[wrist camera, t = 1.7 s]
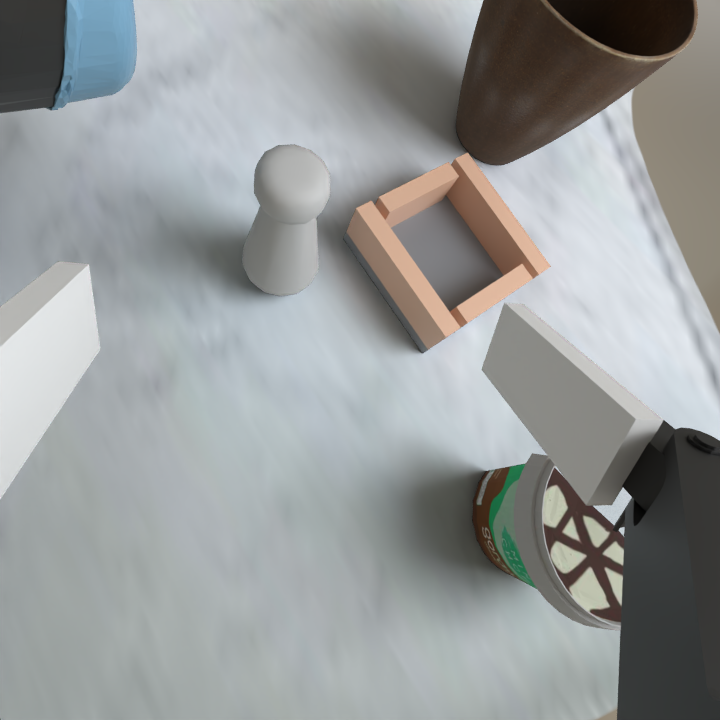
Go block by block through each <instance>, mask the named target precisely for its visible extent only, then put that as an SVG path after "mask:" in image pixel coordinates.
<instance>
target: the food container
mask: <svg viewBox="0 0 720 720" xmlns="http://www.w3.org/2000/svg"><path fill="white" fill-rule="evenodd" d="M472 521H473V525H474V529H475V533H476V537H477V541H478V543H479V544H480V546H481V548H482V550H483V552H484V554H485V555H486V556H487V557H488V558H489V560H490V561H491V562H492V563H493V564H494V565H496V566H497V567H498V568H500V569H501V570H503V571H504V572H506V573H508V574H510V575H512V576H514V577H515V578H517V579H519V580H521V581H523V582H525V583H527V584H529V585H530V586H532V587H534V588H536V589H538V591H539V592H540V593H541V594H542V595H543V597H544V598H545V599H546V600H547V601H548V602H549V603H550V604H551V605H552V606H553V607H554V608H555V609H557V610H558V611H559V612H560V613H562V614H563V615H565V616H567V617H568V618H570V619H571V620H573V621H576V622H578V623H581V624H583V625H586V626H591V627H596V628H602V629H610V630H621V608H622V583H623V558H624V537H623V535H622V534H621V533H620V532H619V531H617V532H615V531H613V528H614V525H613V524H612V523H611V522H610V521H608V520H607V519H606V518H605V517H604V516H603V515H602V514H601V513H600V512H599V511H597V510H596V509H595V508H594V507H593V506H586V504H585V503H584V502H583V501H582V499H581V498H580V497H579V495H578V494H577V493H576V491H575V490H574V489H573V488H572V486H571V485H570V484H569V482H568V481H567V480H566V479H565V478H564V477H563V476H562V475H561V474H560V473H559V472H558V471H557V469H556V468H555V464H554V463H553V462H552V460H551V459H550V458H549V456H546V455H539V454H532V455H531V456H530V458H529V460H528V461H527V463H526V464H521V465H516V466H510V467H505V468H500V469H495V470H489V471H486V472H485V474H484V475H483V477H482V478H481V480H480V481H479V483H478V487H477V490H476V493H475V496H474V499H473V516H472Z"/></svg>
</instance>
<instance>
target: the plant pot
mask: <svg viewBox="0 0 720 720" xmlns="http://www.w3.org/2000/svg"><path fill="white" fill-rule="evenodd" d="M697 19H698V9H697V2H696V0H484V1H483V4H482V7H481V11H480V14H479V17H478V21H477V24H476V28H475V31H474V35H473V39H472V43H471V47H470V50H469V54H468V59H467V63H466V67H465V72H464V77H463V81H462V87H461V92H460V98H459V104H458V111H457V118H456V130H457V134H458V137H459V139H460V141H461V143H462V145H463V146H464V147H465V148H466V150H467V151H468V152H469V153H470V154H472V155H473V156H474V157H475V158H477V159H478V160H480V161H482V162H485V163H488V164H492V165H504V164H507V163H510V162H512V161H514V160H517V159H519V158H521V157H523V156H525V155H527V154H529V153H531V152H533V151H535V150H537V149H539V148H541V147H543V146H545V145H547V144H548V143H550V142H552V141H554V140H556V139H557V138H559V137H561V136H562V135H564V134H566V133H567V132H569V131H571V130H572V129H574V128H576V127H577V126H579V125H580V124H582V123H583V122H585V121H587V120H588V119H590V118H591V117H593V116H594V115H596V114H597V113H599V112H600V111H602V110H603V109H605V108H606V107H608V106H609V105H610V104H612V103H613V102H615V101H616V100H618V99H619V98H620V97H622V96H623V95H625V94H626V93H627V92H629V91H630V90H631V89H633V88H634V87H635V86H637V85H638V84H639V83H641V82H642V81H643V80H644V79H646V78H647V77H648V76H650V75H651V74H652V73H654V72H655V71H656V70H658V69H659V68H660V67H662V66H663V65H664V64H666V63H667V62H668V61H669V60H671V59H672V58H673V57H674V56H675V55H677V54H678V53H679V52H681V51H682V50H683V49H684V48H685V47H686V46H687V45H688V44H689V43H690V41H691V39H692V37H693V35H694V33H695V30H696V25H697Z"/></svg>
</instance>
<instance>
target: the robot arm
mask: <svg viewBox="0 0 720 720" xmlns="http://www.w3.org/2000/svg"><path fill="white" fill-rule="evenodd" d="M136 56H137V39H136V24H135V13H134V5H133V0H0V113H6V112H14V111H22V110H30V109H38V108H47V109H49V110H58V108H63V107H64V106H65V105H66V104H67V103H70V102H75V101H81V100H86V99H92V98H98V97H103V96H109V95H113V94H115V93H116V92H119V91H120V90H121V89H122V88H123V87H124V86H125V85H126V84H127V83H128V82H129V81H130V80H131V78H132V76H133V73H134V70H135V65H136ZM99 350H100V342H99V335H98V328H97V320H96V313H95V306H94V298H93V291H92V284H91V276H90V269H89V264H83V263H72V262H61V261H58V262H57V263H55V264H54V265H53V266H52V267H50V268H49V269H48V270H47V271H45V272H44V273H43V274H42V275H40V276H39V277H38V278H36V279H35V280H34V281H33V282H31V283H30V284H29V285H28V286H26V287H25V288H24V289H22V290H21V291H20V292H19V293H17V294H16V295H15V296H14V297H12V298H11V299H10V300H9V301H7V302H6V303H5V304H3V305H2V306H1V307H0V499H1V498H2V496H3V495H4V493H5V492H6V490H7V489H8V487H9V486H10V484H11V483H12V481H13V480H14V478H15V477H16V475H17V474H18V472H19V471H20V469H21V468H22V466H23V465H24V463H25V462H26V460H27V459H28V457H29V456H30V454H31V453H32V451H33V450H34V448H35V447H36V445H37V444H38V442H39V441H40V439H41V438H42V436H43V434H44V433H45V431H46V430H47V428H48V427H49V425H50V424H51V422H52V421H53V419H54V418H55V416H56V415H57V413H58V412H59V410H60V409H61V407H62V406H63V404H64V403H65V401H66V400H67V398H68V397H69V395H70V394H71V392H72V391H73V389H74V388H75V386H76V385H77V383H78V382H79V380H80V379H81V377H82V376H83V374H84V373H85V371H86V370H87V368H88V367H89V365H90V364H91V362H92V361H93V359H94V358H95V356H96V355H97V353H98V352H99ZM482 371H483V372H484V373H485V375H486V376H487V377H488V379H489V380H490V381H491V383H492V384H493V385H494V386H495V388H496V389H497V390H498V392H499V393H500V394H501V395H502V397H503V398H504V399H505V401H506V402H507V403H508V405H509V406H510V407H511V408H512V410H513V411H514V412H515V414H516V415H517V416H518V418H519V419H520V420H521V421H522V423H523V424H524V425H525V427H526V428H527V429H528V431H529V432H530V433H531V434H532V436H533V437H534V438H535V440H536V441H537V442H538V443H539V445H540V446H541V447H542V449H543V450H544V451H545V453H546V454H547V455H548V456H549V458H550V459H551V460H552V462H553V463H554V464H555V466H556V467H557V468H558V469H559V471H560V472H561V473H562V475H563V476H564V477H565V479H566V480H567V481H568V482H569V484H570V485H571V486H572V488H573V489H574V490H575V491H576V493H577V494H578V495H579V497H580V498H581V499H582V501H583V502H584V503H585V504H586V506H593V505H612V504H613V502H614V501H615V499H616V497H617V496H618V494H619V492H620V491H621V489H622V488H623V487H624V489H625V490H626V491H627V492H628V493H629V494H630V495H631V496H632V499H631V500H630V502H629V503H628V505H627V507H626V508H625V510H624V511H623V513H622V514H621V516H620V518H619V519H618V521H617V522H616V524H615V525H614V528H613V531H615V532H617V531H618V530H619V528H621V527H625V533H624V558H623V583H622V608H621V634H620V659H619V684H618V709H617V720H720V441H719V440H717V439H716V438H714V437H712V436H710V435H708V434H705V433H703V432H700V431H697V430H694V429H690V428H679V429H676V430H675V429H674V428H673V427H672V426H670V425H669V424H668V423H667V422H666V421H664V420H663V419H662V418H661V417H660V416H658V415H657V414H656V413H655V412H654V411H652V410H651V409H650V408H649V407H648V406H646V405H645V404H644V403H643V402H641V401H640V400H639V399H638V398H637V397H635V396H634V395H633V394H632V393H631V392H629V391H628V390H627V389H626V388H625V387H623V386H622V385H621V384H620V383H618V382H617V381H616V380H615V379H614V378H612V377H611V376H610V375H609V374H608V373H606V372H605V371H604V370H603V369H601V368H600V367H599V366H598V365H597V364H595V363H594V362H593V361H592V360H591V359H589V358H588V357H587V356H586V355H585V354H583V353H582V352H581V351H580V350H578V349H577V348H576V347H575V346H574V345H572V344H571V343H570V342H569V341H568V340H566V339H565V338H564V337H563V336H561V335H560V334H559V333H558V332H557V331H555V330H554V329H553V328H552V327H551V326H549V325H548V324H547V323H546V322H545V321H543V320H542V319H541V318H540V317H538V316H537V315H536V314H535V313H534V312H532V311H531V310H530V309H529V308H528V307H526V306H525V305H524V304H514V303H504V305H503V308H502V311H501V314H500V317H499V320H498V323H497V326H496V329H495V332H494V335H493V337H492V340H491V343H490V346H489V349H488V352H487V355H486V358H485V361H484V364H483V367H482ZM0 720H1V719H0Z"/></svg>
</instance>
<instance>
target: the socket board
mask: <svg viewBox="0 0 720 720" xmlns="http://www.w3.org/2000/svg"><path fill="white" fill-rule="evenodd" d="M344 240H345V242H346V243H347V245H348V246H349V248H350V249H351V251H352V252H353V253H354V255H355V256H356V258H357V259H358V261H359V262H360V264H361V265H362V267H363V268H364V269H365V271H366V272H367V274H368V275H369V277H370V278H371V280H372V281H373V282H374V284H375V285H376V287H377V288H378V290H379V291H380V293H381V294H382V295H383V297H384V298H385V300H386V301H387V303H388V304H389V306H390V307H391V308H392V310H393V311H394V313H395V314H396V316H397V317H398V319H399V320H400V321H401V323H402V324H403V326H404V327H405V329H406V330H407V332H408V333H409V334H410V336H411V337H412V339H413V340H414V342H415V343H416V345H417V346H418V347H419V349H420V350H421V352H422V353H424V352H426V351H427V350H429V349H430V348H432V347H433V346H434V345H436V344H437V343H439V342H440V341H442V340H443V339H445V338H446V337H448V336H449V335H451V334H452V333H454V332H455V331H457V330H458V329H460V328H461V327H463V326H464V325H465V324H467V323H468V322H470V321H471V320H473V319H474V318H476V317H477V316H479V315H480V314H482V313H483V312H485V311H486V310H488V309H489V308H491V307H492V306H493V305H495V304H496V303H498V302H499V301H501V300H502V299H504V298H505V297H507V296H508V295H510V294H511V293H513V292H514V291H516V290H517V289H519V288H520V287H521V286H523V285H524V284H526V283H527V282H529V281H530V280H532V279H533V278H535V277H536V276H538V275H539V274H541V273H542V272H543V271H545V270H546V269H548V268H549V267H551V266H550V265H549V263H548V262H547V261H546V259H545V258H544V256H543V255H542V254H541V252H540V251H539V250H538V248H537V247H536V245H535V244H534V243H533V241H532V240H531V239H530V237H529V236H528V234H527V233H526V232H525V230H524V229H523V228H522V226H521V225H520V223H519V222H518V221H517V219H516V218H515V217H514V215H513V214H512V212H511V211H510V210H509V208H508V207H507V206H506V204H505V203H504V201H503V200H502V199H501V197H500V196H499V195H498V193H497V192H496V190H495V189H494V188H493V186H492V185H491V184H490V182H489V181H488V179H487V178H486V177H485V175H484V174H483V173H482V171H481V170H480V168H479V167H478V166H477V164H476V163H475V162H474V160H473V159H472V157H471V156H470V155H469V153H466V154H464V155H462V156H460V157H458V158H456V159H455V160H454V161H453V163H452V164H450V163H449V162H448V163H446V164H444V165H442V166H440V167H438V168H436V169H434V170H432V171H430V172H428V173H426V174H424V175H422V176H420V177H418V178H416V179H414V180H412V181H410V182H408V183H406V184H404V185H402V186H400V187H398V188H396V189H394V190H392V191H390V192H388V193H386V194H384V195H382V196H380V197H379V198H378V200H377V202H376V204H375V205H374V204H373V202H372V201H370V202H368V203H366V204H364V205H362V206H359V207H357V208H356V209H355V212H354V214H353V217H352V219H351V222H350V224H349V226H348V229H347V231H346V234H345V236H344Z"/></svg>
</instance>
